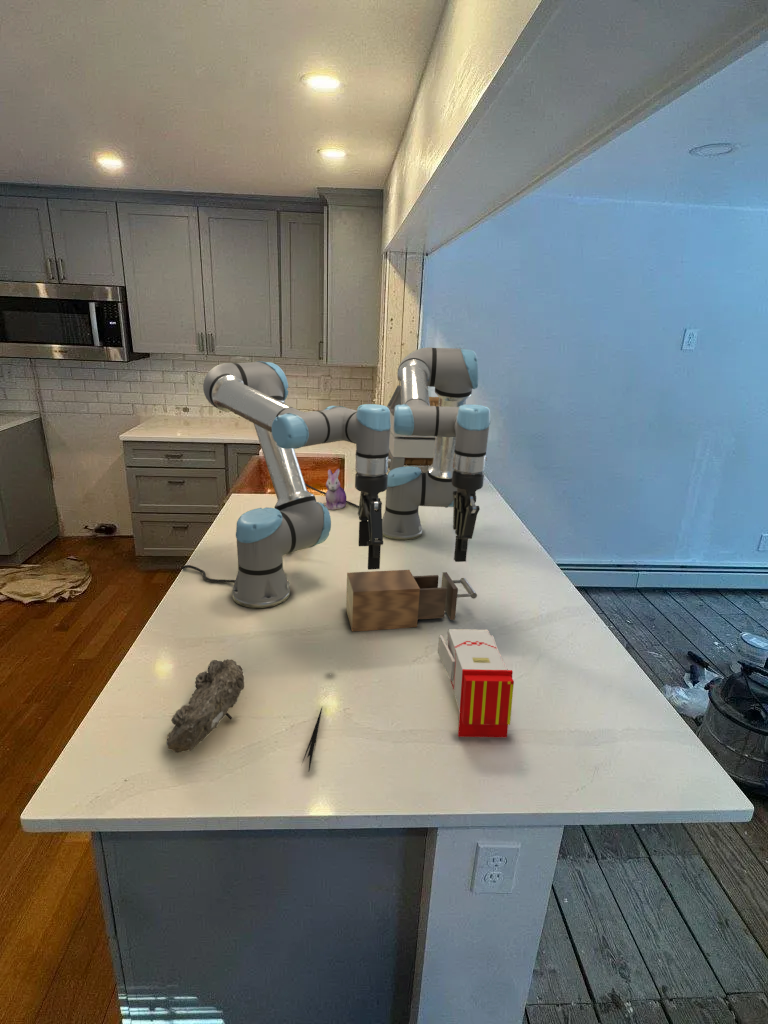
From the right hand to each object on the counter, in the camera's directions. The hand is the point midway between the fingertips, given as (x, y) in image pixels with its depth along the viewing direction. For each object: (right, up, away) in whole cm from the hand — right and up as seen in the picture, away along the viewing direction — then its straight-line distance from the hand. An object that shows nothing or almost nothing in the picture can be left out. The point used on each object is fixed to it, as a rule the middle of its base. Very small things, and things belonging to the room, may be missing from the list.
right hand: (459, 560), depth 144 cm
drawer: (-7, -14, +4) cm, 16 cm away
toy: (-1, -25, -25) cm, 36 cm away
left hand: (-23, +1, -5) cm, 24 cm away
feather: (-32, -28, -35) cm, 55 cm away
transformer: (-2, +31, +131) cm, 135 cm away
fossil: (-52, -27, -36) cm, 69 cm away
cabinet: (-20, -15, +1) cm, 25 cm away
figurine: (-38, +14, +80) cm, 90 cm away
